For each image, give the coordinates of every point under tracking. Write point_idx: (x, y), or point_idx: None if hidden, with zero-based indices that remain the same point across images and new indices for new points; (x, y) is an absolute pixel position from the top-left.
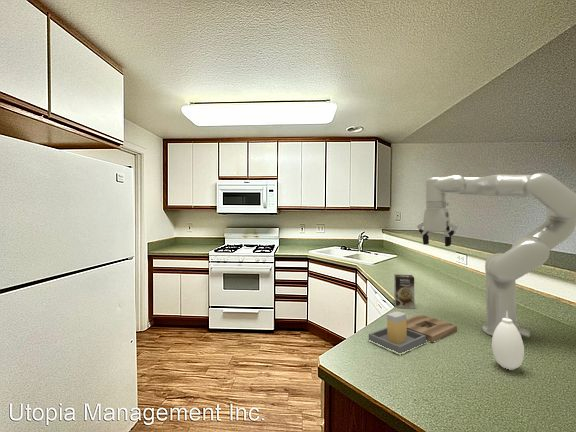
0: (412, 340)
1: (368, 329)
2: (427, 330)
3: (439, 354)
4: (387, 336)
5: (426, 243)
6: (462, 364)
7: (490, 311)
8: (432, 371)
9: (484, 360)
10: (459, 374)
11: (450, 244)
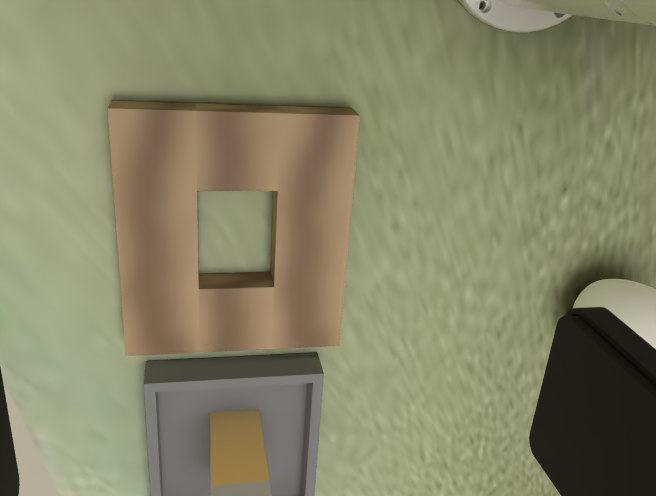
0: (311, 449)
1: (46, 435)
2: (288, 304)
3: (394, 385)
4: (210, 483)
5: (7, 447)
6: (476, 384)
7: (558, 6)
8: (425, 484)
9: (523, 303)
10: (487, 440)
11: (613, 320)
